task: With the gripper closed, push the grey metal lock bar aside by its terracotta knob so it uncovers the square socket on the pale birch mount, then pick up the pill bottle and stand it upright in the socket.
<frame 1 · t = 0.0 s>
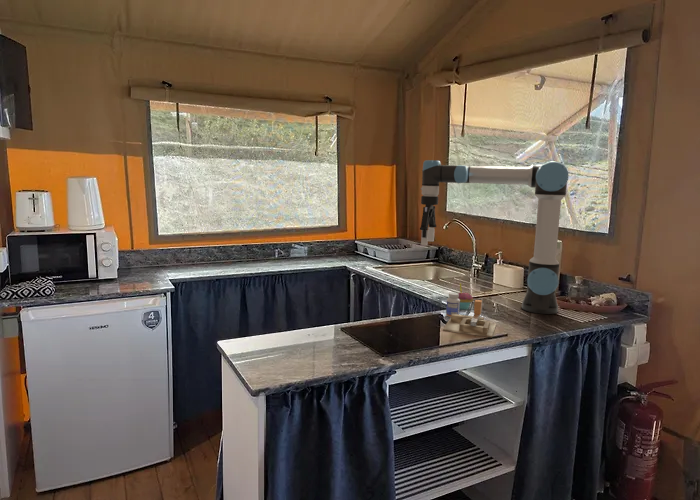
hand: (427, 243, 217), 28 cm above the worktop, fingers open, 13 cm apart
pill bottle: (452, 316, 202), on the worktop
lock bar: (476, 312, 184), point 7 cm above the worktop, slide at 0.0 cm
mount: (474, 330, 183), on the worktop
cupcake: (462, 308, 215), on the worktop
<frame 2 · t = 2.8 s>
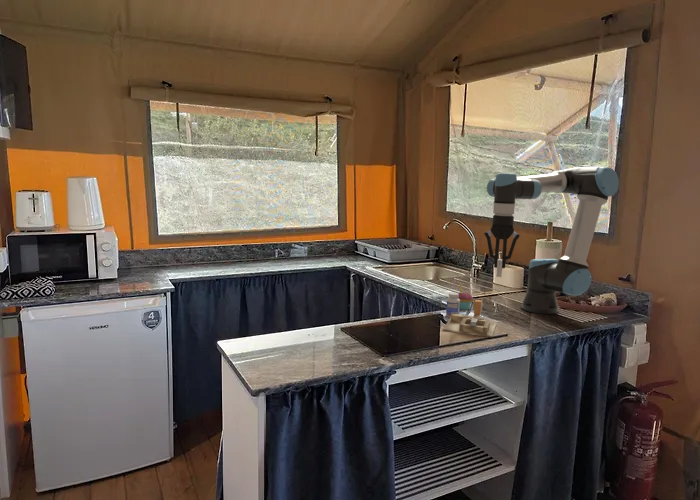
hand: (498, 276, 185), 20 cm above the worktop, fingers closed
nothing on the worktop moved.
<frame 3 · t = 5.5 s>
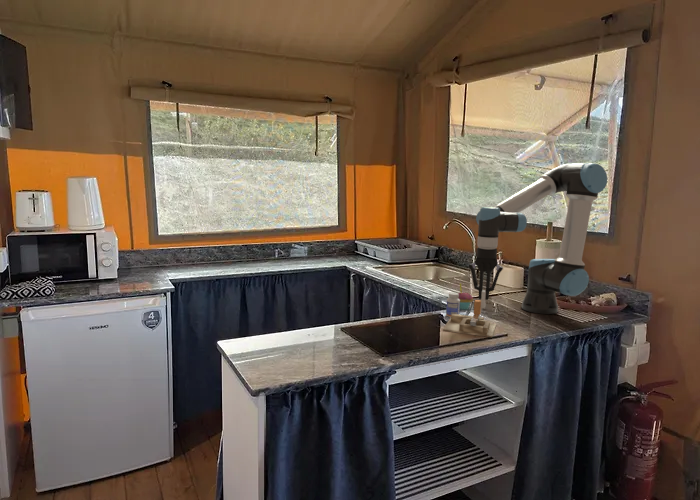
hand: (482, 307, 188), 8 cm above the worktop, fingers closed
lock bar: (475, 312, 184), point 7 cm above the worktop, slide at 0.1 cm, touching gripper
everything else where it was.
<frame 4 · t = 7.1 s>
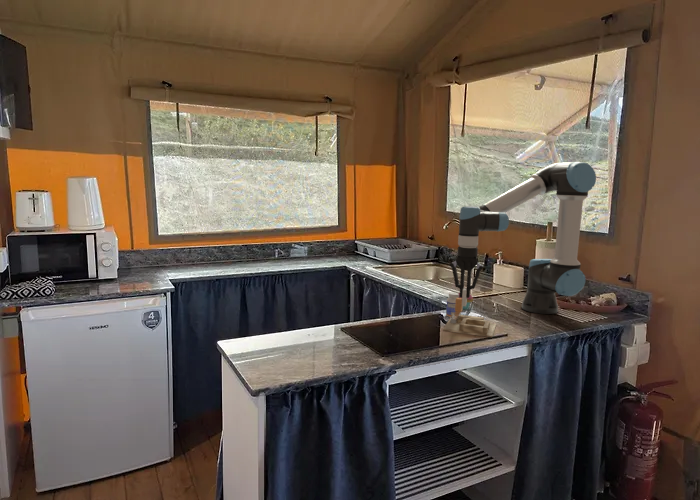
hand: (464, 305, 191), 7 cm above the worktop, fingers closed
lock bar: (456, 310, 186), point 7 cm above the worktop, slide at 7.4 cm, touching gripper
everything else where it was.
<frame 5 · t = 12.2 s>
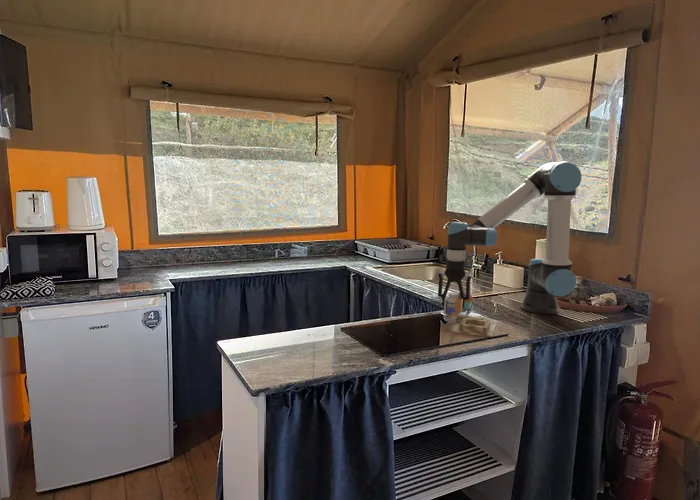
hand: (452, 314, 202), 1 cm above the worktop, fingers closed on pill bottle, 5 cm apart
pill bottle: (452, 316, 202), on the worktop, touching gripper
lock bar: (456, 310, 187), point 7 cm above the worktop, slide at 7.5 cm
everything else where it was.
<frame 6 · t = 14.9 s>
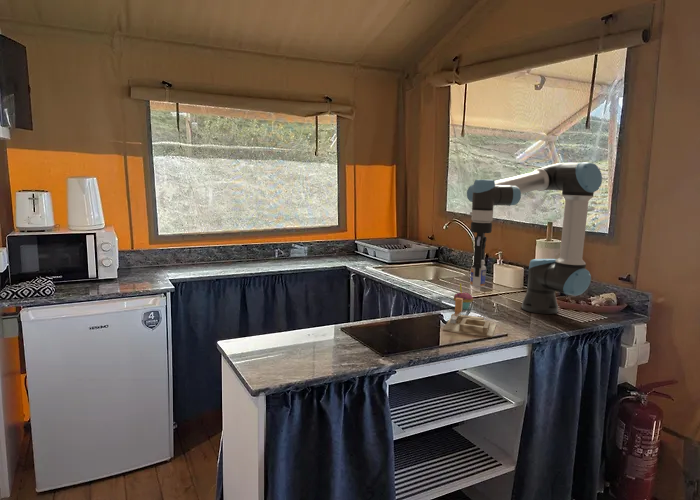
hand: (477, 283, 181), 18 cm above the worktop, fingers closed on pill bottle, 5 cm apart
pill bottle: (477, 286, 181), point 17 cm above the worktop, touching gripper
everything else where it was.
when the fingers open (4 cm above the worktop, at t = 17.7 s): pill bottle drops 3 cm, resting on mount.
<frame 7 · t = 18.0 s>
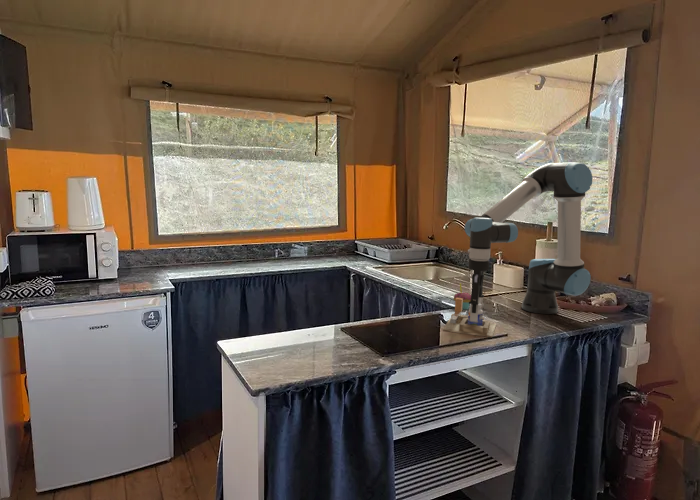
hand: (475, 317, 183), 5 cm above the worktop, fingers open, 10 cm apart
pill bottle: (474, 329, 184), resting on mount
everything else where it was.
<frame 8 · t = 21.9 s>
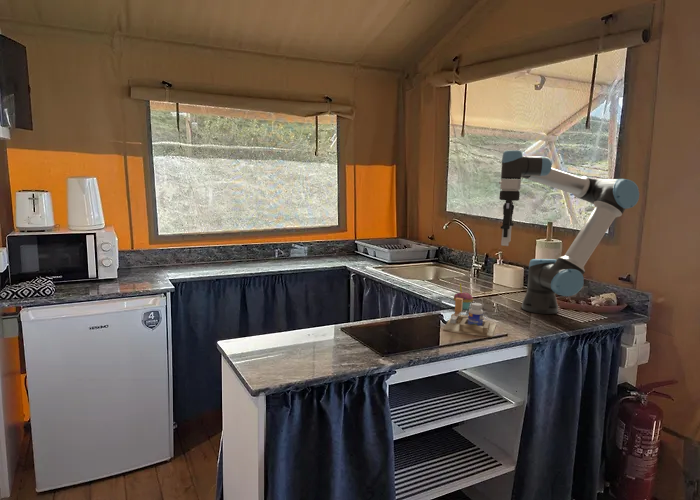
hand: (505, 243, 193), 32 cm above the worktop, fingers open, 13 cm apart
nothing on the worktop moved.
at the end: pill bottle 0.2 cm off-centre on the mount, point 0.4 cm above the mount's base; pill bottle tilted 0°; lock bar slide at 7.5 cm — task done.
